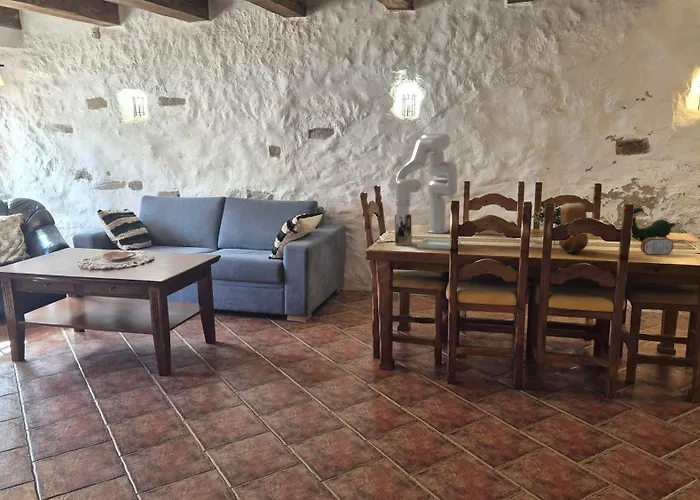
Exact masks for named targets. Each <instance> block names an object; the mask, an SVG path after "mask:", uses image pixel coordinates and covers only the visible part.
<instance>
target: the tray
mask: <svg viewBox="0 0 700 500" xmlns="http://www.w3.org/2000/svg"><path fill="white" fill-rule="evenodd" d="M450 239H451V238H450ZM450 239H449V238H448V239H447V238H446V239H445V238H428V237H427V238H423V239H422V240H420V241H419V242H418V243H417V246H416V247H417V249H432V250H446V251H447V250H449V249H450ZM458 240H459V246H460V245H461V239H458ZM449 251H450V250H449Z"/></svg>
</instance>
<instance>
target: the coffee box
mask: <svg viewBox="0 0 700 500" xmlns="http://www.w3.org/2000/svg"><path fill="white" fill-rule="evenodd" d="M401 224H403V223H402V221H401ZM412 237H413V236H412V214H410V213H409V215H407V216H406V223H405V225H404V237H399V236H398V224H396V214H395V215H394V245H395V246H412Z"/></svg>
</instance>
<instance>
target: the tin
mask: <svg viewBox="0 0 700 500" xmlns="http://www.w3.org/2000/svg"><path fill="white" fill-rule="evenodd" d="M673 249H674V241H673V240H672V239H671V238H669V237H649V238H646V239H644V240H642V241H641V244H640V250H641V252H642V253H643V254H646V255H647V256H656V255H657V256H660V255H668V254H670V253H671V252H672V251H673Z"/></svg>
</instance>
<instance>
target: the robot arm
mask: <svg viewBox="0 0 700 500" xmlns="http://www.w3.org/2000/svg"><path fill="white" fill-rule="evenodd" d="M450 144H451V138H450V136H449V135H448V134H447V133H424V134H422V135H421V136H420V138H418V139H417V140H416V142H415V144H414V147H413V151H412V154H411V156H410V160H409V161H408V162H407V163H406V164H405V165H403V166H402V167H401V169H399V171H398V173H397V175H396V178H395V182H394V189H395V198H396V199H395V205H396V212H395V213H396V214H395V215H396V224H398V236H399V237H404V225H405V223H406V216H407V215H409V214H410V206H411V194H415V193H418V192H419V191H420V190H421V187H422V185H421V182H420V180H419V179H417V178H407V177H408V176H409V175H410V174H412V173H414V172H417V171H418V170H421V169H423V168H424V167H425V165H426V161H427V158H428V156H429V173H430V176H431V177H433V178H437V179H432V180H430V181H429V183H428V185H427V188H428V195H429V196H428V197H429V228H427V230H426V232H427V233H430V234H444V233H445V234H446V233H448V232H449V229H448V228H446V215H447V214H446V212H447V211H446V210H447V209H446V208H447V207H446V206H447V202H446V200H445V198H444V197H454V196H455V195H457V193H458V170H457V169H458V168H457V165H456V164H455V162H453V161H445V154H444V150H446V149H447V148H448V147H449V146H450ZM438 178H440V179H438ZM401 221H402V223H403V224H401Z"/></svg>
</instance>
